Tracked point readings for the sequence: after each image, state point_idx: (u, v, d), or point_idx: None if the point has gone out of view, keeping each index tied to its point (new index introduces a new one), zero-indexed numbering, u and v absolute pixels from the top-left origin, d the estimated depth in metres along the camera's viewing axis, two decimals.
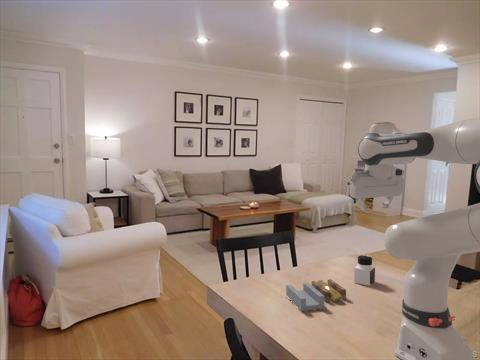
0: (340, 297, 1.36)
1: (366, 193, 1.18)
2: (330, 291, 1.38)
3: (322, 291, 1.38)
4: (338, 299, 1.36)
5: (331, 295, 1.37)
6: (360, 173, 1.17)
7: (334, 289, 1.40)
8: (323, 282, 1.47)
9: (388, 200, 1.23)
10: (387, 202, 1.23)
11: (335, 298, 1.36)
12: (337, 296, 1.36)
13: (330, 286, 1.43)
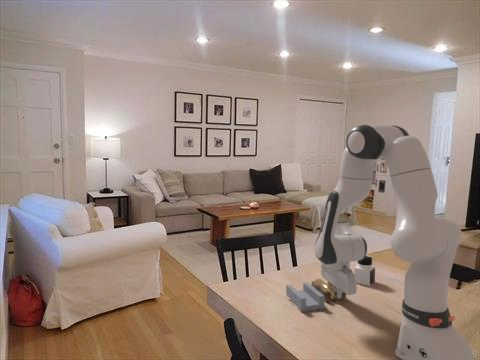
0: None
1: None
2: (328, 290, 1.39)
3: (322, 291, 1.38)
4: (336, 297, 1.37)
5: (329, 294, 1.38)
6: None
7: None
8: (321, 281, 1.48)
9: (336, 288, 1.37)
10: (337, 290, 1.36)
11: (333, 297, 1.37)
12: None
13: None
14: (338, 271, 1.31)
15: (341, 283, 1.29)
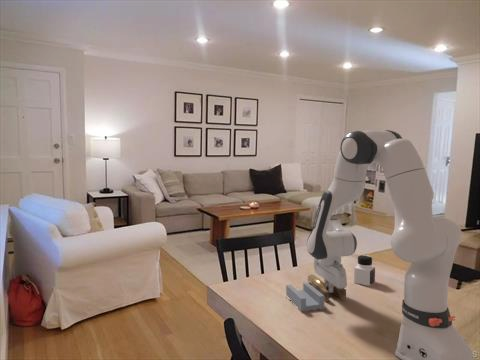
0: None
1: None
2: None
3: (322, 291, 1.38)
4: None
5: None
6: None
7: None
8: (314, 276, 1.54)
9: (328, 282, 1.43)
10: (328, 284, 1.43)
11: None
12: None
13: (320, 280, 1.50)
14: (329, 266, 1.37)
15: (332, 277, 1.36)
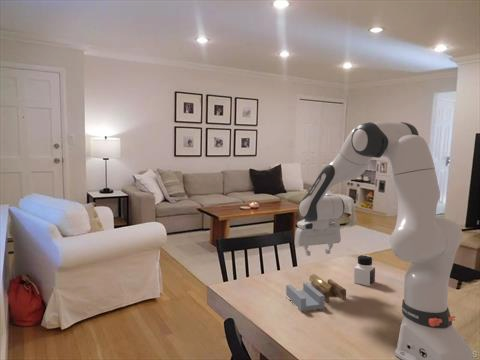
0: (331, 291, 1.44)
1: None
2: (324, 283, 1.46)
3: (322, 291, 1.38)
4: (329, 292, 1.44)
5: (324, 286, 1.44)
6: None
7: (327, 283, 1.47)
8: (317, 276, 1.54)
9: None
10: None
11: (327, 290, 1.43)
12: (329, 289, 1.43)
13: None
14: (327, 228, 1.49)
15: (331, 237, 1.50)
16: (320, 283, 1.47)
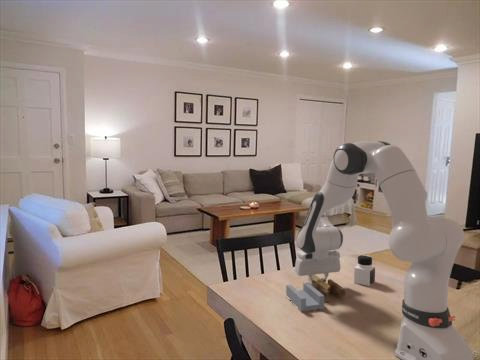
0: (330, 289, 1.44)
1: None
2: (321, 284, 1.46)
3: (322, 291, 1.38)
4: None
5: None
6: None
7: (325, 282, 1.47)
8: (315, 276, 1.54)
9: None
10: None
11: None
12: (328, 288, 1.43)
13: (321, 279, 1.50)
14: (326, 258, 1.50)
15: (331, 266, 1.50)
16: None
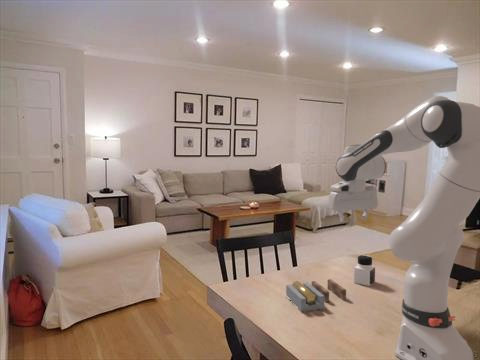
0: (315, 299, 1.30)
1: None
2: (305, 293, 1.32)
3: (322, 291, 1.38)
4: (313, 301, 1.29)
5: (305, 297, 1.30)
6: None
7: (309, 290, 1.33)
8: (299, 283, 1.40)
9: None
10: None
11: (309, 300, 1.29)
12: (312, 298, 1.29)
13: (305, 287, 1.36)
14: (363, 192, 1.37)
15: (368, 201, 1.38)
16: (302, 293, 1.33)
